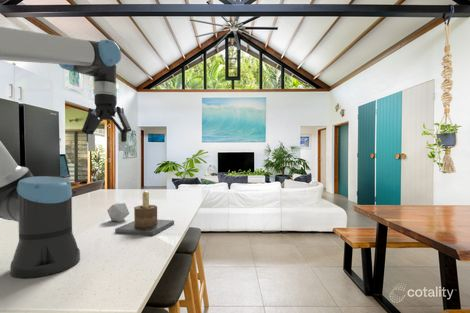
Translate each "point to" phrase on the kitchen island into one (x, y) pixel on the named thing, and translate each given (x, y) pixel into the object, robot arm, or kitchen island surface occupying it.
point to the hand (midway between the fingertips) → (106, 151)
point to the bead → (145, 216)
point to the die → (118, 212)
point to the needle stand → (152, 230)
